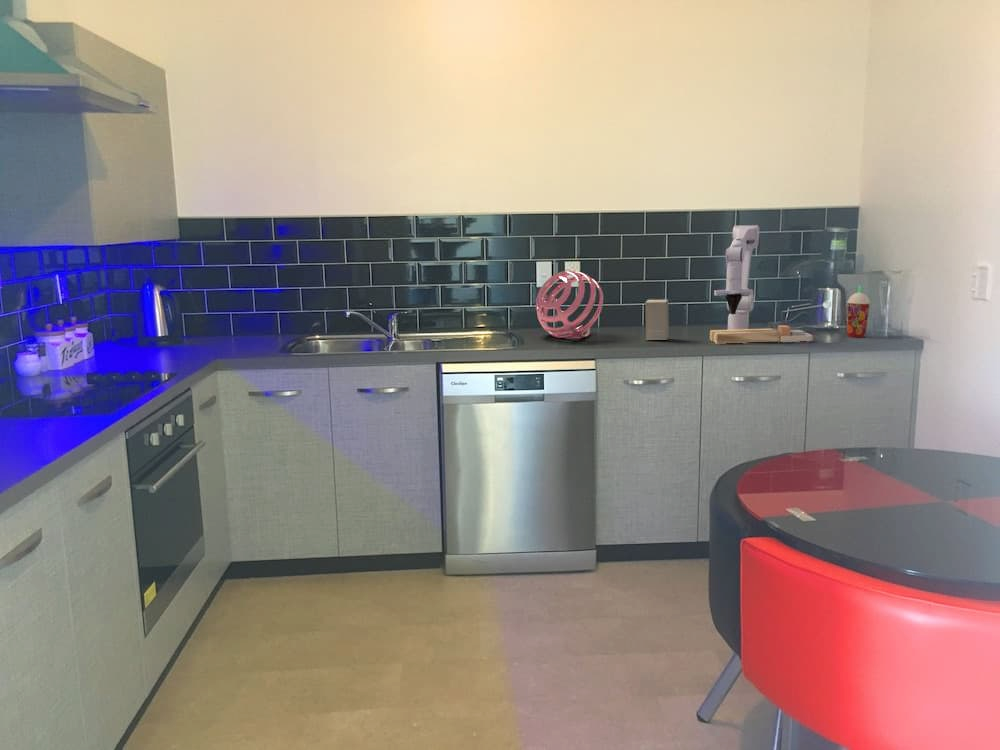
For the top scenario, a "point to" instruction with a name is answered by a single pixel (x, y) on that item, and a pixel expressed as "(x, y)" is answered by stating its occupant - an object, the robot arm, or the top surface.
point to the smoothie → (857, 314)
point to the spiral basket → (563, 315)
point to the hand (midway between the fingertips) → (732, 313)
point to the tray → (796, 338)
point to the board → (743, 335)
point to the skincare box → (657, 320)
